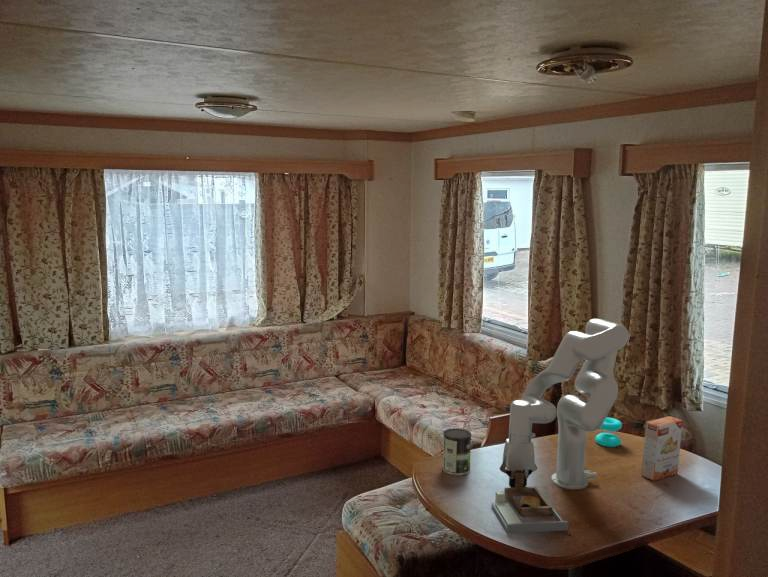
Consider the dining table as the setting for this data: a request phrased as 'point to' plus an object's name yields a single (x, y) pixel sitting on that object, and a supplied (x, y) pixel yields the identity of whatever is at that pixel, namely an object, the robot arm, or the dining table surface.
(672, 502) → the dining table surface
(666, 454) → the cracker box
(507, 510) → the sage strip
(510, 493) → the frame
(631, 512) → the dining table surface
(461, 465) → the coffee can
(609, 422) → the donuts
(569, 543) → the dining table surface
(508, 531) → the lane guide
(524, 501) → the pastry
